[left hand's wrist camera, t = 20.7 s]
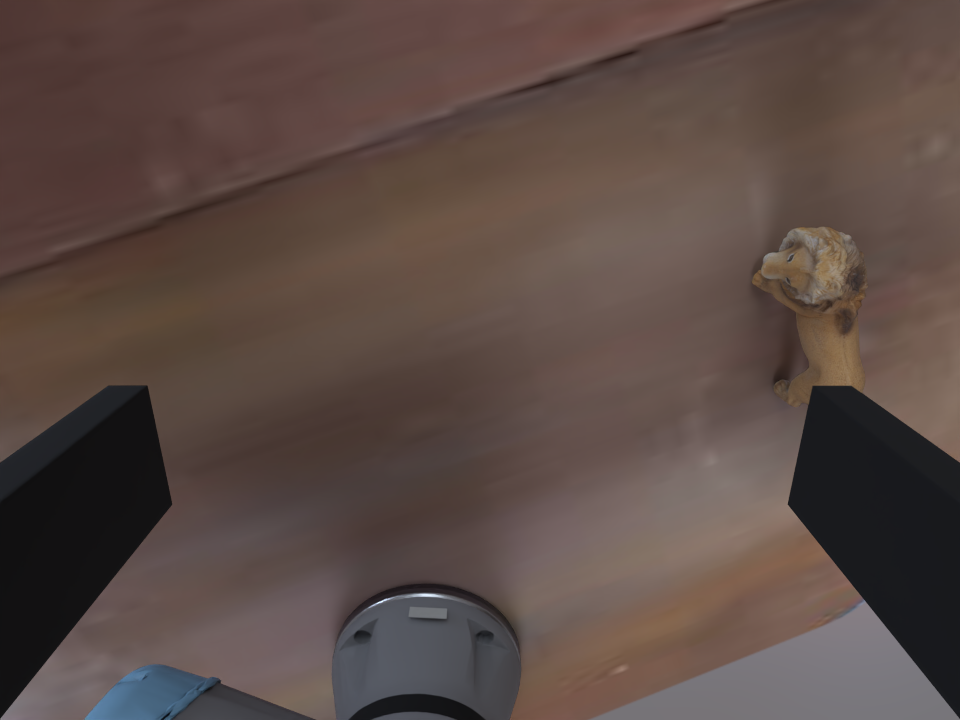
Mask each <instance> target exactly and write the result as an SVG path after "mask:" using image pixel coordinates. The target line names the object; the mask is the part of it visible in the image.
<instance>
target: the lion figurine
mask: <svg viewBox="0 0 960 720" xmlns="http://www.w3.org/2000/svg"><path fill="white" fill-rule="evenodd" d="M866 276H867V270H866V266H865V261H864V255H863V253H862V252H860V251H859V249H858V248H857V247H856V244H855V242H854V241H853V240H852V238H851V236H850V235H845V234H844V233H843V232H838V231H836V230H834V229H832V228H830V227H819V228H811V227H810V228H804V227H799V228H796V229H793V230H791V231H790V232H789V233H788V234H787V237H786V238H784V239H783V242H782V244H781V246H780V248H779V251H776V252H773V253H769V254H767V255H766V256H765V257H764V259H763V265H762V267H761V270H759V271H758V272H757V273H756V274H755V275H754V277H753V280H752V283H753V284H754V285H755V286H757V287H758V288H760V289H761V290H763V291H765V292H768V293H771V294H772V295H773V296H774V297H775V298H776V299H777V300H778V301H779V302H781V303H783V304H784V305H785V306H787V307H789V308H790V309H792V310H793V311H795V312H796V320H797V328H798V332H799V338H800V342H801V345H802V348H803V350H804V353H805V355H806V356H807V358H808V361H809V368H808V369H807V370H806V371H804V372H803V373H801V374H799V375H798V376H796V377H795V378H794V379H793V380H792V382H791V383H790V382H789V381H787V380H783V379H782V380H780V381H778V382H776V383H775V385H774V388H773V389H774V392H775V393H776V395H777V396H779V397H780V398H781V399H782V400H784V401H785V402H787V403H788V404H789V405H791V406H794V407H798V406H800V405H801V403H806V404H808V405H809V400H810V395H811V391H812V386H853V387H854V388H855V389H857V390H858V391H860V392H861V393H862V392H863V388H864V385H865V373H864V370H863V367H862V363H861V359H860V351H859V329H858V318H857V315H858V312H857V310H858V309H859V308H860V307H861V306H862V304H861V300H862V299H864V298H865V296H866V294H865V289H866V288H867V287H868V284H867V278H866Z"/></svg>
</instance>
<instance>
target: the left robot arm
mask: <svg viewBox="0 0 960 720" xmlns="http://www.w3.org/2000/svg"><path fill="white" fill-rule="evenodd" d="M171 505H172V501H171V496H170V491H169V486H168V482H167V477H166V472H165V467H164V462H163V458H162V453H161V448H160V443H159V439H158V434H157V429H156V424H155V419H154V415H153V410H152V405H151V400H150V395H149V391H148V386H107V387H106V388H105V389H103V390H102V391H100V392H99V393H98V394H96V395H95V396H93V397H92V398H91V399H89V400H88V401H86V402H85V403H84V404H82V405H81V406H79V407H78V408H76V409H75V410H74V411H72V412H71V413H69V414H68V415H67V416H65V417H64V418H62V419H61V420H60V421H58V422H57V423H55V424H54V425H53V426H51V427H50V428H48V429H47V430H46V431H44V432H43V433H41V434H40V435H39V436H37V437H36V438H34V439H33V440H32V441H30V442H29V443H27V444H26V445H25V446H23V447H22V448H20V449H19V450H17V451H16V452H15V453H13V454H12V455H10V456H9V457H8V458H6V459H5V460H3V461H2V462H1V463H0V718H1V717H2V716H3V715H4V713H5V712H6V711H7V710H8V708H9V707H10V706H11V705H12V703H13V702H14V701H15V700H16V698H17V697H18V696H19V695H20V693H21V692H22V691H23V690H24V688H25V687H26V686H27V685H28V683H29V682H30V681H31V680H32V678H33V677H34V676H35V675H36V673H37V672H38V671H39V670H40V668H41V667H42V666H43V665H44V663H45V662H46V661H47V660H48V658H49V657H50V656H51V655H52V653H53V652H54V651H55V650H56V649H57V647H58V646H59V645H60V644H61V642H62V641H63V640H64V639H65V637H66V636H67V635H68V634H69V632H70V631H71V630H72V629H73V627H74V626H75V625H76V624H77V622H78V621H79V620H80V619H81V617H82V616H83V615H84V614H85V612H86V611H87V610H88V609H89V607H90V606H91V605H92V604H93V602H94V601H95V600H96V599H97V597H98V596H99V595H100V594H101V592H102V591H103V590H104V589H105V588H106V586H107V585H108V584H109V583H110V581H111V580H112V579H113V578H114V576H115V575H116V574H117V573H118V571H119V570H120V569H121V568H122V566H123V565H124V564H125V563H126V561H127V560H128V559H129V558H130V556H131V555H132V554H133V553H134V551H135V550H136V549H137V548H138V546H139V545H140V544H141V543H142V541H143V540H144V539H145V538H146V536H147V535H148V534H149V533H150V531H151V530H152V529H153V528H154V526H155V525H156V524H157V523H158V522H159V520H160V519H161V518H162V517H163V515H164V514H165V513H166V512H167V510H168V509H169V508H170V507H171ZM788 505H789V507H790V508H791V509H792V510H793V512H794V513H795V514H796V515H797V517H798V518H799V519H800V520H801V522H802V523H803V524H804V525H805V526H806V528H807V529H808V530H809V531H810V533H811V534H812V535H813V536H814V538H815V539H816V540H817V541H818V543H819V544H820V545H821V546H822V548H823V549H824V550H825V551H826V553H827V554H828V555H829V556H830V558H831V559H832V560H833V561H834V563H835V564H836V565H837V566H838V568H839V569H840V570H841V571H842V573H843V574H844V575H845V576H846V578H847V579H848V580H849V581H850V583H851V584H852V585H853V586H854V588H855V589H856V590H857V591H858V592H859V594H860V595H861V596H862V597H863V599H864V600H865V601H866V602H867V604H868V605H869V606H870V607H871V609H872V610H873V611H874V612H875V614H876V615H877V616H878V617H879V619H880V620H881V621H882V622H883V624H884V625H885V626H886V627H887V629H888V630H889V631H890V632H891V634H892V635H893V636H894V637H895V638H896V640H897V641H898V642H899V643H900V645H901V646H902V647H903V648H904V650H905V651H906V652H907V653H908V655H909V656H910V657H911V658H912V660H913V661H914V662H915V663H916V665H917V666H918V667H919V668H920V670H921V671H922V672H923V673H924V675H925V676H926V677H927V678H928V680H929V681H930V682H931V683H932V685H933V686H934V687H935V688H936V690H937V691H938V692H939V693H940V695H941V696H942V697H943V698H944V700H945V701H946V702H947V703H948V705H949V706H950V707H951V708H952V709H953V711H954V712H955V713H956V714H957V716H958V717H959V718H960V463H959V462H958V461H957V460H955V459H954V458H952V457H951V456H950V455H948V454H947V453H945V452H944V451H943V450H941V449H940V448H938V447H937V446H935V445H934V444H933V443H931V442H930V441H928V440H927V439H926V438H924V437H923V436H921V435H920V434H919V433H917V432H916V431H914V430H913V429H912V428H910V427H909V426H907V425H906V424H905V423H903V422H902V421H900V420H899V419H898V418H896V417H895V416H893V415H892V414H891V413H889V412H888V411H886V410H885V409H884V408H882V407H881V406H879V405H878V404H876V403H875V402H874V401H872V400H871V399H869V398H868V397H867V396H865V395H864V394H862V393H861V392H860V391H858V390H857V389H855V388H854V387H853V386H812V391H811V395H810V400H809V405H808V410H807V415H806V419H805V424H804V429H803V434H802V439H801V443H800V448H799V453H798V458H797V462H796V467H795V472H794V477H793V482H792V486H791V491H790V496H789V501H788ZM520 677H521V660H520V649H519V643H518V640H517V637H516V634H515V632H514V630H513V628H512V627H511V625H510V623H509V622H508V621H507V619H506V618H505V617H504V616H503V615H502V614H501V613H500V612H499V611H498V610H497V609H496V608H495V607H494V606H492V605H491V604H490V603H488V602H487V601H485V600H484V599H482V598H480V597H478V596H476V595H474V594H472V593H470V592H467V591H464V590H461V589H458V588H454V587H450V586H445V585H437V584H414V585H406V586H401V587H396V588H393V589H390V590H387V591H384V592H382V593H379V594H377V595H375V596H373V597H371V598H370V599H368V600H367V601H365V602H364V603H362V604H361V605H360V606H358V607H357V608H356V609H355V610H354V611H353V612H352V613H351V615H350V616H349V617H348V618H347V620H346V621H345V623H344V624H343V626H342V628H341V630H340V633H339V636H338V639H337V642H336V646H335V650H334V654H333V662H332V683H333V692H334V701H335V710H336V719H337V720H510V716H511V713H512V710H513V707H514V704H515V700H516V697H517V694H518V690H519V685H520ZM84 720H315V719H312V718H309V717H307V716H304V715H302V714H299V713H296V712H294V711H291V710H289V709H286V708H283V707H281V706H278V705H275V704H273V703H270V702H268V701H265V700H262V699H260V698H257V697H255V696H252V695H249V694H247V693H244V692H241V691H239V690H236V689H234V688H231V687H228V686H226V685H223V684H221V680H220V679H218V678H216V677H211V678H208V679H207V678H204V677H201V676H198V675H195V674H191V673H188V672H185V671H182V670H179V669H175V668H172V667H169V666H166V665H160V664H153V665H147V666H144V667H141V668H139V669H137V670H135V671H133V672H131V673H130V674H128V675H127V676H125V677H124V678H122V679H121V680H120V681H119V682H118V683H117V684H116V685H115V686H114V687H113V688H112V689H111V690H110V691H109V692H108V693H107V694H106V695H105V696H104V697H103V698H102V699H101V700H100V702H99V703H98V704H97V705H96V706H95V707H94V708H93V710H92V711H91V712H90V713H89V714H88V715H87V717H86V718H85V719H84Z"/></svg>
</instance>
